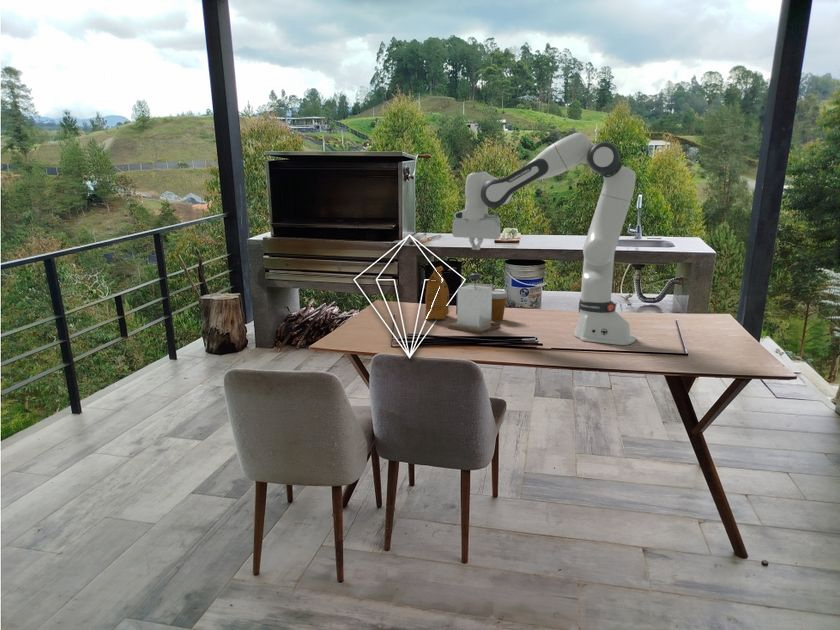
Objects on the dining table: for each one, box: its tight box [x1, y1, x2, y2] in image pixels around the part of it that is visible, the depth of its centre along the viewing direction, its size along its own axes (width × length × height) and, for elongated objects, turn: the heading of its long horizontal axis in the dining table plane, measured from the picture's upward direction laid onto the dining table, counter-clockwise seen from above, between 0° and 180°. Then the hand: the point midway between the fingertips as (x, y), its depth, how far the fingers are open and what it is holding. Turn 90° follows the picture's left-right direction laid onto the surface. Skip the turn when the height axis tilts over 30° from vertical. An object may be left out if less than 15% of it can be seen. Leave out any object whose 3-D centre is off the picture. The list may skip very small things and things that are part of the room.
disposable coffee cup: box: [491, 289, 508, 322], centre depth 257 cm, size 10×10×12 cm
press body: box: [447, 284, 501, 335], centre depth 242 cm, size 16×14×16 cm
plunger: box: [469, 272, 482, 288], centre depth 241 cm, size 8×8×18 cm
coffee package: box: [424, 265, 450, 321], centre depth 259 cm, size 10×12×22 cm
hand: (475, 249), depth 237 cm, fingers closed
